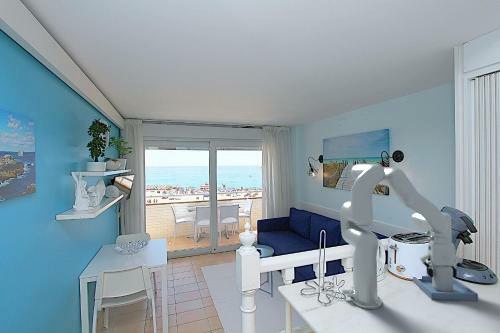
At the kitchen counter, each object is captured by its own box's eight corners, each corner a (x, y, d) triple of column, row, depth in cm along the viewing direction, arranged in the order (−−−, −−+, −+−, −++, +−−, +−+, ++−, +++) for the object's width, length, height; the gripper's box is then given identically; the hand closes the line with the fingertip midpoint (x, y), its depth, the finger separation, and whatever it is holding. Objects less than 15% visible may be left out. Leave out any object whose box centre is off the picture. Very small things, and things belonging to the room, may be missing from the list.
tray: (431, 299, 104) (431, 292, 104) (411, 281, 120) (411, 275, 119) (477, 301, 102) (477, 294, 101) (451, 281, 117) (450, 275, 117)
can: (457, 294, 106) (456, 267, 106) (438, 293, 107) (437, 266, 107) (446, 285, 113) (446, 260, 113) (428, 284, 115) (428, 259, 114)
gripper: (425, 242, 107) (426, 280, 108) (468, 242, 105) (468, 280, 106) (415, 236, 115) (416, 272, 115) (455, 236, 113) (456, 272, 113)
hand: (441, 276), depth 110 cm, fingers open, 9 cm apart
